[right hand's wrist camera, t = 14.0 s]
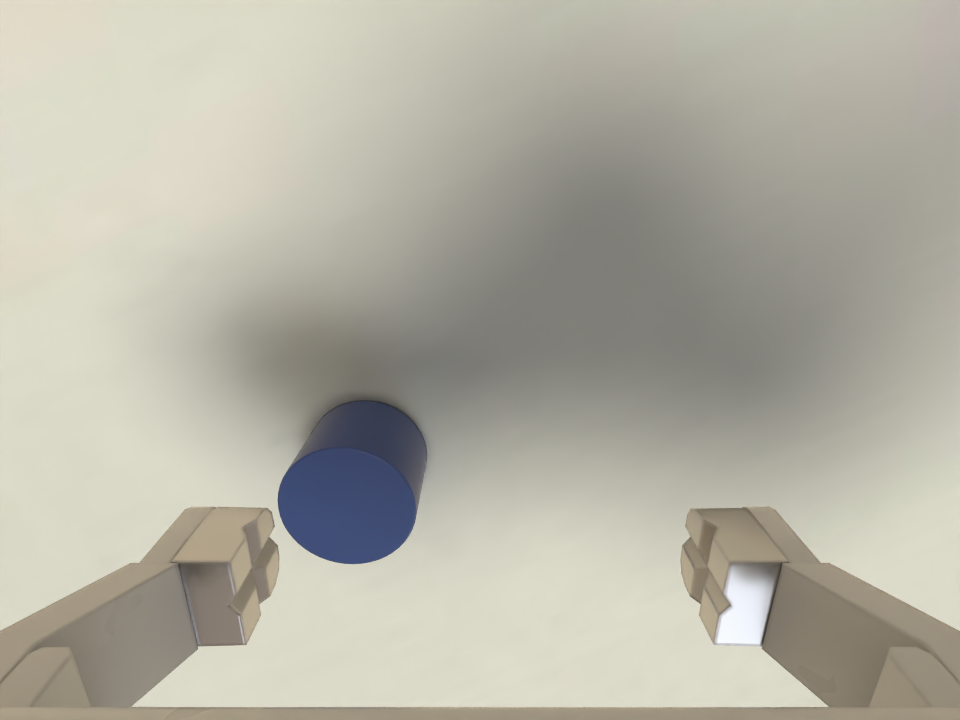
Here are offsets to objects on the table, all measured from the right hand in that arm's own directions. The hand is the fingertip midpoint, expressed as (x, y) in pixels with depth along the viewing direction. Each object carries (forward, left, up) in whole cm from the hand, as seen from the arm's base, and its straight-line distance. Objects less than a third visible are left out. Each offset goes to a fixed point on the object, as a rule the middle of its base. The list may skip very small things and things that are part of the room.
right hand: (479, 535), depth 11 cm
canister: (+4, -6, -12) cm, 14 cm away
